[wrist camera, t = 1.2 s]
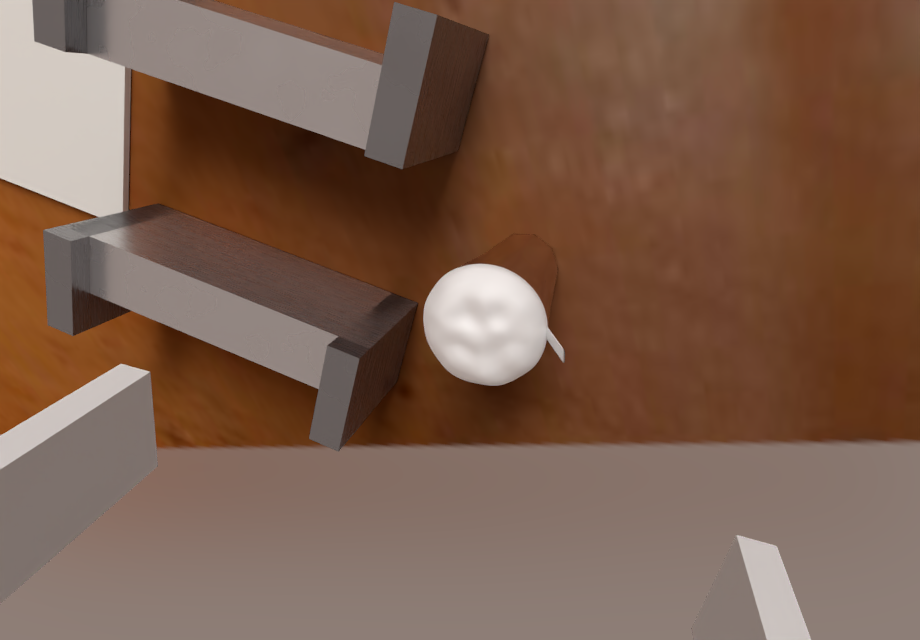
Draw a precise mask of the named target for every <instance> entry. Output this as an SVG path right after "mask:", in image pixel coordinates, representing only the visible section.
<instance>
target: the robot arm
mask: <svg viewBox="0 0 920 640" xmlns="http://www.w3.org/2000/svg"><path fill="white" fill-rule="evenodd" d="M157 466H158V462H157V449H156V437H155V425H154V413H153V400H152V388H151V376H150V372H149V371H145V370H142V369H138V368H134V367H131V366H127V365H124V364H120V365H118V366H116V367H115V368H113V369H111V370H110V371H108V372H106V373H105V374H103V375H101V376H100V377H98V378H96V379H95V380H93V381H91V382H90V383H88V384H86V385H85V386H83V387H81V388H80V389H78V390H76V391H74V392H73V393H71V394H69V395H68V396H66V397H64V398H63V399H61V400H59V401H58V402H56V403H54V404H53V405H51V406H49V407H48V408H46V409H44V410H43V411H41V412H39V413H38V414H36V415H34V416H33V417H31V418H29V419H27V420H26V421H24V422H22V423H21V424H19V425H17V426H16V427H14V428H12V429H11V430H9V431H7V432H6V433H4V434H2V435H1V436H0V604H1V603H2V602H3V601H4V600H5V599H7V597H9V596H10V595H11V594H12V593H13V592H15V590H17V589H18V588H19V587H20V586H21V585H23V584H24V583H25V582H26V581H27V580H28V579H29V578H30V577H32V576H33V575H34V574H35V573H36V572H37V571H39V570H40V569H41V568H42V567H43V566H44V565H45V564H46V563H48V562H49V561H50V560H51V559H52V558H53V557H55V556H56V555H57V554H58V553H59V552H60V551H61V550H62V549H64V548H65V547H66V546H67V545H68V544H69V543H71V542H72V541H73V540H74V539H75V538H76V537H77V536H78V535H80V534H81V533H82V532H83V531H84V530H85V529H87V528H88V527H89V526H90V525H91V524H92V523H93V522H94V521H96V520H97V519H98V518H99V517H100V516H101V515H103V514H104V513H105V512H106V511H107V510H108V509H109V508H110V507H112V506H113V505H114V504H115V503H116V502H117V501H119V500H120V499H121V498H122V497H123V496H124V495H125V494H127V493H128V492H129V491H130V490H131V489H132V488H133V487H134V486H136V485H137V484H138V483H139V482H140V481H141V480H142V479H144V478H145V477H146V476H147V475H148V474H149V473H151V472H152V471H153V470H154V469H155V468H156V467H157ZM692 635H693V640H811V638H810V635H809V633H808V630H807V627H806V625H805V622H804V619H803V616H802V614H801V611H800V608H799V605H798V603H797V600H796V597H795V595H794V592H793V589H792V586H791V584H790V581H789V578H788V576H787V573H786V570H785V568H784V565H783V562H782V559H781V557H780V554H779V551H778V548H777V546H775V545H771V544H768V543H764V542H760V541H757V540H753V539H750V538H746V537H742V536H738V535H736V537H735V539H734V541H733V543H732V545H731V547H730V549H729V551H728V553H727V556H726V558H725V560H724V562H723V564H722V566H721V568H720V570H719V572H718V574H717V576H716V579H715V580H714V582H713V585H712V587H711V589H710V591H709V593H708V595H707V597H706V599H705V601H704V603H703V605H702V608H701V609H700V611H699V614H698V616H697V618H696V620H695V622H694V624H693V626H692Z"/></svg>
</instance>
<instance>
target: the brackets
mask: <svg viewBox="0 0 920 640" xmlns="http://www.w3.org/2000/svg"><path fill="white" fill-rule="evenodd" d="M32 5H33V25H34V41H35V42H37V43H40V44H43V45H46V46H49V47H52V48H55V49H58V50H61V51H63V52H70V53H84V54H90V55H93V56H95V57H98V58H101V59H104V60H107V61H110V62H113V63H116V64H119V65H121V66H124V67H127V68H130V69H133V70H136V71H139V72H142V73H145V74H147V75H150V76H153V77H156V78H159V79H162V80H165V81H168V82H171V83H174V84H176V85H179V86H182V87H185V88H188V89H191V90H194V91H197V92H200V93H202V94H205V95H208V96H211V97H214V98H217V99H220V100H223V101H226V102H229V103H231V104H234V105H237V106H240V107H243V108H246V109H249V110H252V111H255V112H257V113H260V114H263V115H266V116H269V117H272V118H275V119H278V120H281V121H284V122H286V123H289V124H292V125H295V126H298V127H301V128H304V129H307V130H310V131H312V132H315V133H318V134H321V135H324V136H327V137H330V138H333V139H336V140H338V141H341V142H344V143H347V144H350V145H353V146H356V147H359V148H362V149H365V155H364V156H366V157H368V158H371V159H374V160H377V161H380V162H383V163H386V164H389V165H391V166H394V167H397V168H400V169H405V168H408V167H411V166H414V165H417V164H420V163H423V162H426V161H429V160H432V159H435V158H438V157H442V156H445V155H448V154H451V153H454V152H457V151H458V150H459V146H460V142H461V139H462V135H463V131H464V127H465V123H466V120H467V116H468V112H469V108H470V105H471V101H472V97H473V93H474V89H475V86H476V82H477V78H478V74H479V71H480V67H481V63H482V59H483V56H484V52H485V48H486V44H487V40H488V37H489V34H486V33H483V32H481V31H478V30H476V29H473V28H470V27H468V26H465V25H462V24H460V23H457V22H454V21H452V20H449V19H447V18H444V17H441V16H439V15H436V14H432V13H429V12H426V11H422V10H419V9H416V8H412V7H409V6H406V5H402V4H399V3H396V2H394V6H393V12H392V17H391V22H390V27H389V32H388V37H387V42H386V47H385V52H384V54H381V53H378V52H375V51H372V50H369V49H365V48H362V47H359V46H356V45H353V44H350V43H346V42H343V41H340V40H337V39H334V38H331V37H327V36H324V35H321V34H318V33H315V32H312V31H309V30H305V29H302V28H299V27H296V26H293V25H290V24H286V23H283V22H280V21H277V20H274V19H271V18H267V17H264V16H261V15H258V14H255V13H252V12H248V11H245V10H242V9H239V8H236V7H233V6H230V5H226V4H223V3H220V2H217V1H214V0H32ZM43 234H44V255H45V276H46V296H47V317H48V325H49V326H51V327H54V328H56V329H58V330H60V331H63V332H65V333H67V334H70V335H72V336H74V335H77V334H79V333H81V332H83V331H86V330H88V329H90V328H93V327H95V326H97V325H100V324H102V323H104V322H107V321H109V320H111V319H114V318H116V317H118V316H121V315H123V314H125V313H128V312H130V311H134V312H136V313H138V314H141V315H143V316H145V317H148V318H150V319H153V320H155V321H157V322H160V323H162V324H165V325H167V326H169V327H172V328H174V329H176V330H179V331H181V332H184V333H186V334H188V335H191V336H193V337H196V338H198V339H200V340H203V341H205V342H207V343H210V344H212V345H215V346H217V347H219V348H222V349H224V350H226V351H229V352H231V353H234V354H236V355H238V356H241V357H243V358H246V359H248V360H250V361H253V362H255V363H257V364H260V365H262V366H265V367H267V368H269V369H272V370H274V371H277V372H279V373H281V374H284V375H286V376H288V377H291V378H293V379H296V380H298V381H300V382H303V383H305V384H307V385H310V386H312V387H315V388H317V389H319V390H318V395H317V400H316V405H315V410H314V415H313V421H312V426H311V431H310V436H309V439H311V440H313V441H315V442H318V443H320V444H322V445H325V446H327V447H329V448H331V449H334V450H336V451H339V450H340V449H341V448H342V447H343V446H344V444H345V443H346V442H347V441H348V440H349V438H350V437H351V436H352V435H353V434H354V432H355V431H356V430H357V429H358V428H359V426H360V425H361V424H362V423H363V422H364V420H365V419H366V418H367V417H368V416H369V414H370V413H371V412H372V411H373V410H374V409H375V407H376V406H377V405H378V404H379V403H380V401H381V400H382V399H383V398H384V397H385V395H386V394H387V393H388V392H389V391H390V389H391V388H392V387H393V386H394V385H395V383H396V382H397V380H398V376H399V372H400V369H401V365H402V361H403V357H404V354H405V350H406V346H407V342H408V338H409V335H410V331H411V327H412V323H413V320H414V316H415V312H416V308H417V304H418V303H417V302H414V301H411V300H409V299H406V298H404V297H401V296H398V295H396V294H393V293H391V292H388V291H385V290H383V289H380V288H378V287H375V286H372V285H370V284H367V283H364V282H362V281H359V280H357V279H354V278H351V277H349V276H346V275H344V274H341V273H338V272H336V271H333V270H331V269H328V268H325V267H323V266H320V265H318V264H315V263H312V262H310V261H307V260H305V259H302V258H299V257H297V256H294V255H291V254H289V253H286V252H284V251H281V250H278V249H276V248H273V247H271V246H268V245H265V244H263V243H260V242H258V241H255V240H252V239H250V238H247V237H245V236H242V235H239V234H237V233H234V232H232V231H229V230H226V229H224V228H221V227H219V226H216V225H213V224H211V223H208V222H205V221H203V220H200V219H198V218H195V217H192V216H190V215H187V214H185V213H182V212H179V211H177V210H174V209H172V208H169V207H166V206H164V205H161V204H159V203H158V204H154V205H150V206H145V207H141V208H137V209H132V210H128V211H124V212H120V213H115V214H111V215H107V216H102V217H98V218H94V219H89V220H85V221H81V222H76V223H72V224H68V225H64V226H59V227H55V228H51V229H46V230H43Z"/></svg>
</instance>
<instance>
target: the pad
mask: <svg viewBox="0 0 920 640" xmlns="http://www.w3.org/2000/svg"><path fill="white" fill-rule="evenodd" d="M130 99H131V69H130V68H127V67H124V66H121V65H119V64H116V63H113V62H110V61H107V60H104V59H101V58H98V57H95V56H93V55H90V54H84V53H70V52H63V51H61V50H58V49H55V48H52V47H49V46H46V45H43V44H40V43H37V42H35V41H34V25H33V5H32V0H0V178H1V179H4V180H6V181H9V182H11V183H14V184H16V185H19V186H21V187H24V188H27V189H29V190H32V191H34V192H37V193H39V194H42V195H44V196H47V197H49V198H52V199H54V200H57V201H59V202H62V203H65V204H67V205H70V206H72V207H75V208H77V209H80V210H82V211H85V212H87V213H90V214H92V215H95V216H97V217H102V216H107V215H111V214H115V213H120V212H124V211H128V203H129V151H130Z"/></svg>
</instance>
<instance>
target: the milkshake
mask: <svg viewBox="0 0 920 640" xmlns="http://www.w3.org/2000/svg"><path fill="white" fill-rule="evenodd" d="M557 273H558V266H557V262H556V259H555V256H554V252H553V249H552V247H551V246H549V245H548V244H547V243H545V242H544V241H543V240H542V239H540V238H539V237H538V236H536V235H535V234H512V235H511V236H509V237H508V238H506V239H505V240H503V241H502V242H500V243H499V244H498V245H496V246H495V247H493V248H492V249H490V250H489V251H487V252H486V253H484V254H482V255H480V256H478V257H476V258H474V259H472V260H471V261H469V262H467V263H465V264H463V265H462V266H460V267H458V268H456V269H454V270H452V271H450V272H448V273H447V274H445V275H444V276H443V277H442V278H441V279H440V280H439V281H438V282H437V284H436V285H435V286H434V288H433V289H432V291H431V292H430V294H429V296H428V298H427V300H426V303H425V306H424V316H423V320H424V330H425V335H426V338H427V341H428V344H429V346H430V348H431V350H432V351H433V353H434V354H435V356H436V357H437V359H438V360H439V361H440V363H441V364H442V365H443V366H444V368H445V369H446V370H447V371H449V372H450V373H451V374H453V375H454V376H456V377H458V378H460V379H462V380H465V381H468V382H472V383H477V384H482V385H488V386H499V385H504V384H506V383H509V382H511V381H513V380H515V379H517V378H519V377H520V376H522V375H524V374H525V373H527V372H528V371H530V370H531V369H532V368H533V367H534V366H535V365H536V364H537V362H538V361H539V359H540V358H541V356H542V354H543V351H544V349H545V346H546V341H547V340H548V342H549V343H550V345H551V346H552V348H553V349H554V350H555V352H556V353H557V355H558V356H559V358H560V359H561V361H562V362H563V363H564V362H565V350H564V348H563V347H562V346H561V344H560V343H559V341H558V340H557V339H556V337H555V336H554V335H553V333H552V332H551V331H550V329H549V328H548V327H549V318H550V310H551V303H552V298H553V293H554V288H555V283H556V278H557Z"/></svg>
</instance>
